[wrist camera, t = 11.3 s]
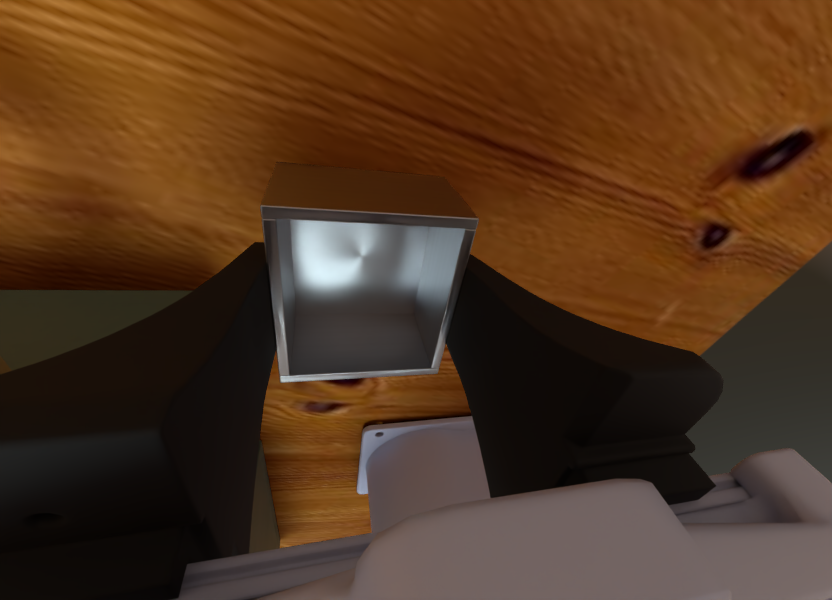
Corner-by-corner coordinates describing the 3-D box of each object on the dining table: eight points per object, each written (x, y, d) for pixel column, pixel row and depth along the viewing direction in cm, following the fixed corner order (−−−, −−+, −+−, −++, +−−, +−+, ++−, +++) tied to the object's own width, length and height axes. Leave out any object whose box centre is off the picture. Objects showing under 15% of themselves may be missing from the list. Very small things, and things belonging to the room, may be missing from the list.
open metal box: (444, 176, 11) (479, 218, 9) (418, 314, 14) (437, 374, 12) (276, 161, 10) (259, 205, 7) (288, 316, 13) (279, 383, 11)
